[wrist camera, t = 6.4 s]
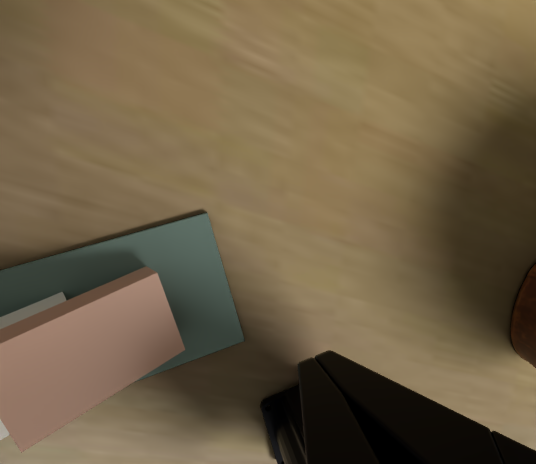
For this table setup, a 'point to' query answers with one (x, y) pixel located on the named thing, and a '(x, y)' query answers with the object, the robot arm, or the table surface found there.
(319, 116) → the table surface
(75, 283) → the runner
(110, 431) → the table surface
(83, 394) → the domino
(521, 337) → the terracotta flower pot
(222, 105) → the table surface
